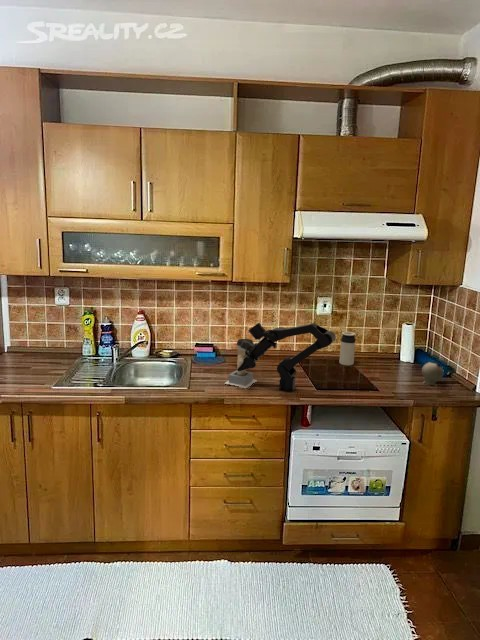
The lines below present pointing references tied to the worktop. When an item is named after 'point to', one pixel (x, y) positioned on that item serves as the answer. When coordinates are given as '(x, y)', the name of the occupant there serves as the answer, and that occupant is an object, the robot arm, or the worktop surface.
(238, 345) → the coffee cup
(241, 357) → the peg
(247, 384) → the socket
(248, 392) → the worktop surface
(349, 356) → the travel mug
